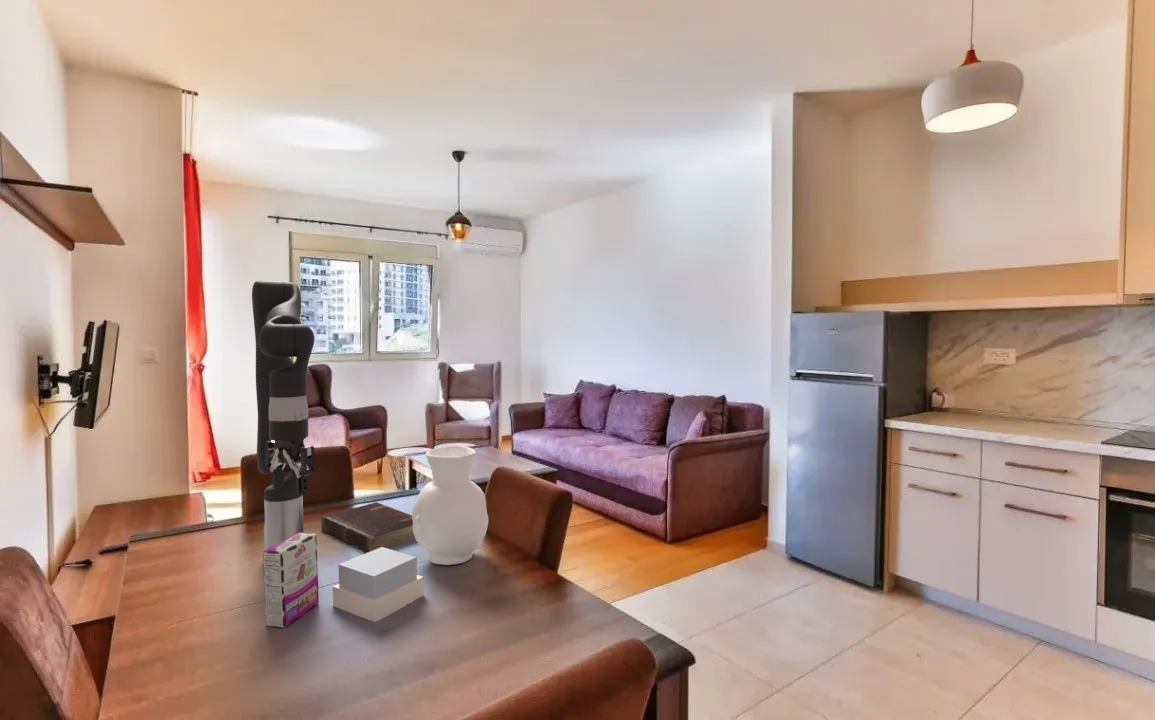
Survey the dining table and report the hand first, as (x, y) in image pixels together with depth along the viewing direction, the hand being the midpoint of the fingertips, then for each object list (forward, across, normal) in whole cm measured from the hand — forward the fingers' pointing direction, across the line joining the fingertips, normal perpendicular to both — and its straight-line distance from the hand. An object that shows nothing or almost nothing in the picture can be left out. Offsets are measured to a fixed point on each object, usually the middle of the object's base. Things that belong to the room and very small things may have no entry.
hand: (290, 491), depth 120 cm
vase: (+28, +9, +40) cm, 49 cm away
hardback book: (+28, -26, +43) cm, 58 cm away
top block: (+23, +11, +14) cm, 29 cm away
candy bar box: (+28, 0, 0) cm, 28 cm away
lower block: (+28, +11, +14) cm, 33 cm away
